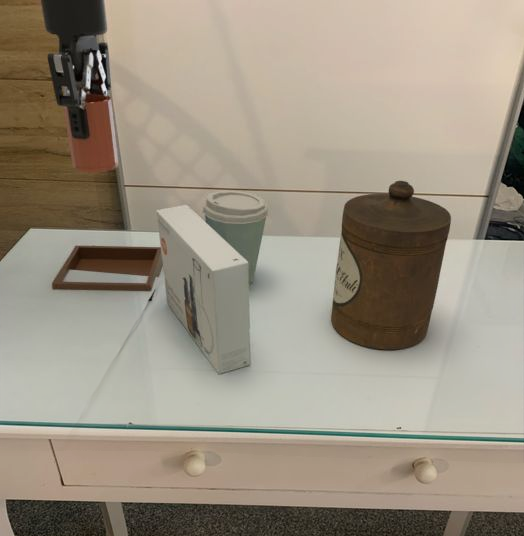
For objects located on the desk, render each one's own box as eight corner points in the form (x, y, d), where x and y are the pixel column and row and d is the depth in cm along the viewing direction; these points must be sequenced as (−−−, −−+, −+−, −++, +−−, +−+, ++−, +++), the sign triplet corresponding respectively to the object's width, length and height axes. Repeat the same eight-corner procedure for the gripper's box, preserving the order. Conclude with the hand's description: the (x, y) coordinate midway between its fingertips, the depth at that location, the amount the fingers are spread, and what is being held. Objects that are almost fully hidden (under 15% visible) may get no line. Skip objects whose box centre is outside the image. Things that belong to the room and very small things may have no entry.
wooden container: (337, 294, 93) (353, 161, 81) (428, 307, 90) (459, 172, 78) (322, 341, 81) (339, 194, 69) (426, 358, 79) (462, 208, 66)
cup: (65, 170, 78) (54, 101, 72) (83, 158, 83) (73, 92, 78) (109, 173, 77) (100, 104, 72) (124, 161, 82) (117, 95, 77)
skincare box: (163, 304, 89) (154, 208, 80) (194, 297, 91) (190, 203, 82) (215, 376, 74) (212, 268, 65) (251, 366, 76) (254, 260, 67)
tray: (54, 299, 89) (51, 283, 88) (78, 259, 101) (75, 245, 100) (151, 300, 90) (150, 285, 88) (163, 261, 102) (162, 247, 100)
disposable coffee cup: (237, 261, 102) (237, 181, 94) (279, 282, 96) (283, 198, 88) (192, 279, 96) (188, 195, 88) (234, 302, 90) (234, 214, 81)
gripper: (66, -14, 74) (85, 118, 83) (12, -11, 62) (41, 143, 72) (121, -12, 73) (133, 122, 83) (77, -8, 61) (97, 147, 71)
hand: (91, 131), depth 77 cm, fingers closed on cup, 6 cm apart
